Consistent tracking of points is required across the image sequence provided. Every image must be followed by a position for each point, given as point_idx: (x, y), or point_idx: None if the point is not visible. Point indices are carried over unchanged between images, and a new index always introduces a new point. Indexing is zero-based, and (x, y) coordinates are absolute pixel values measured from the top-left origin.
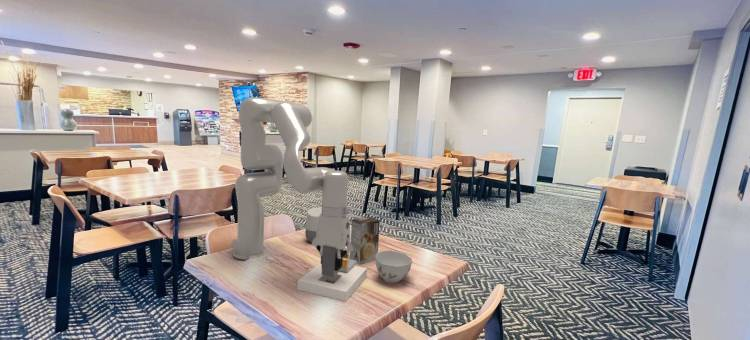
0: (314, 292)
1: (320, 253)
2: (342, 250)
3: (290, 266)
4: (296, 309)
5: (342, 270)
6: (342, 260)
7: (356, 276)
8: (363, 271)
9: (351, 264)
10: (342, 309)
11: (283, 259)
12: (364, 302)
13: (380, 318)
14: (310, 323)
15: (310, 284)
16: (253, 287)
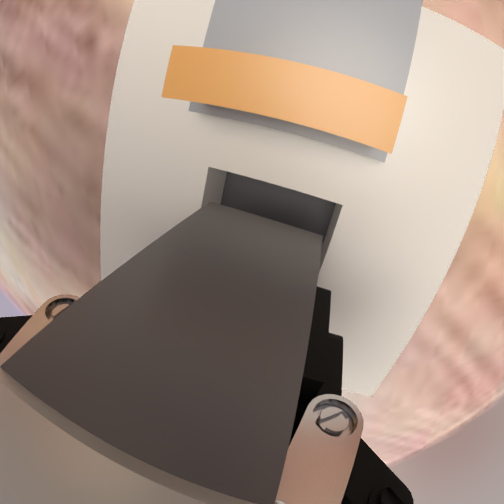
0: None
1: None
2: (322, 490)
3: (31, 68)
4: None
5: (335, 145)
6: (341, 375)
7: (453, 208)
8: (498, 113)
9: (402, 33)
10: (354, 402)
11: (6, 29)
12: (450, 354)
13: (470, 419)
14: None
15: None
16: (22, 274)
